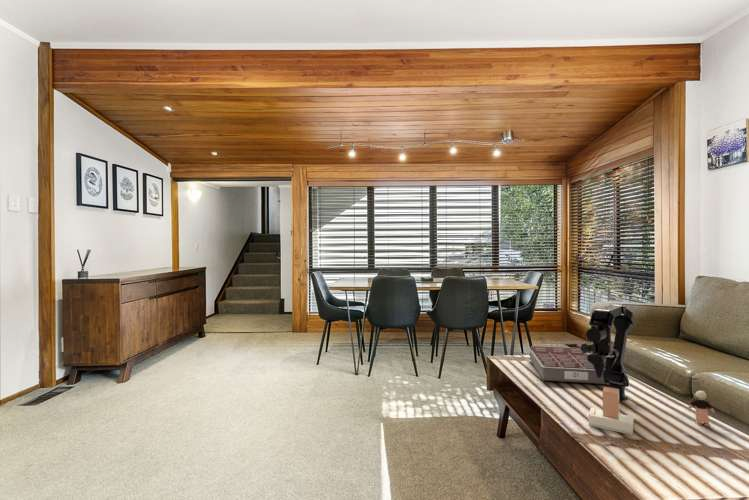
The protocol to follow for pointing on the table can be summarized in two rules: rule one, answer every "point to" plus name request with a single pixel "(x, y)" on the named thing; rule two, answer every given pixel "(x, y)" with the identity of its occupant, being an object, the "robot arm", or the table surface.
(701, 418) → the grandmother figurine
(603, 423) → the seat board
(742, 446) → the table surface
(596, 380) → the organizer tray
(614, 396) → the tall peach block
